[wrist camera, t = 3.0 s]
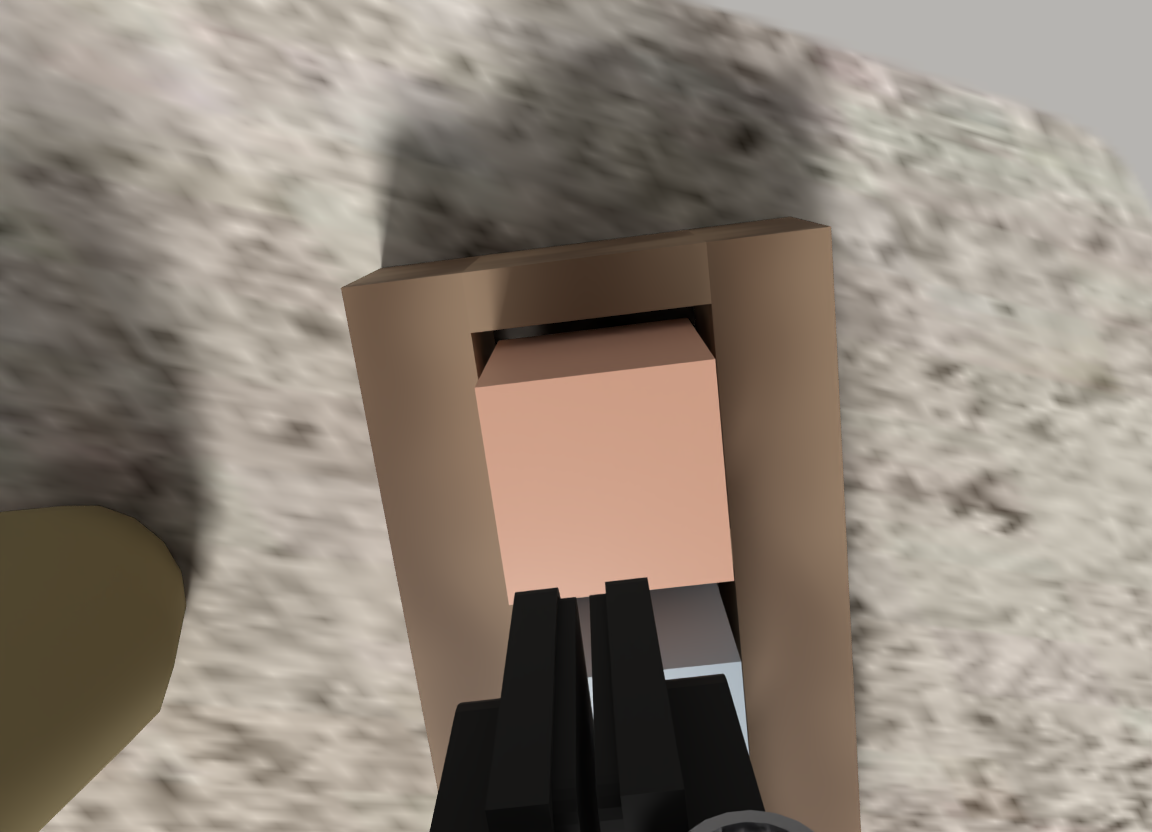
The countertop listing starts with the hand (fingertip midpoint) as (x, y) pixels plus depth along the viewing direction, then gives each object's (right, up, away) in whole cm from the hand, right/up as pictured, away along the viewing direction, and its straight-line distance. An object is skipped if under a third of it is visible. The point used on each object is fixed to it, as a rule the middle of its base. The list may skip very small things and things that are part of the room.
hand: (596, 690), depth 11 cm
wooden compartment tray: (+1, -3, +18) cm, 18 cm away
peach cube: (0, +3, +13) cm, 14 cm away
